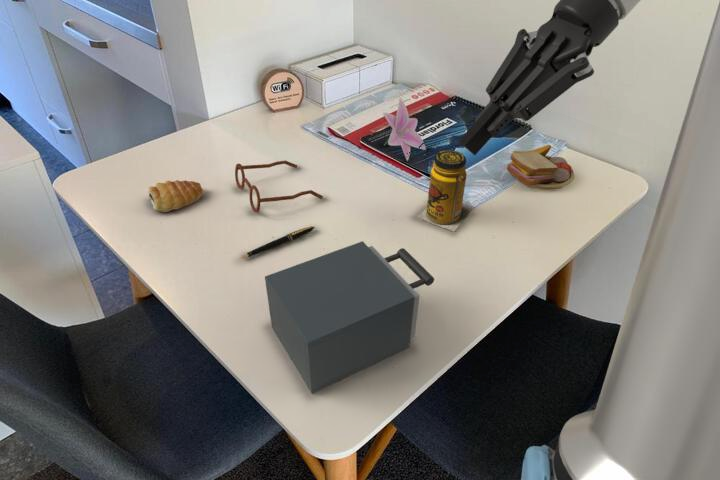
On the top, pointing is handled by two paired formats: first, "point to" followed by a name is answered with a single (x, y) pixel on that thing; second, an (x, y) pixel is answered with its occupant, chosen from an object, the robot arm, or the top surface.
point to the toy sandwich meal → (540, 169)
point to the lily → (403, 130)
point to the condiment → (447, 191)
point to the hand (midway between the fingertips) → (466, 148)
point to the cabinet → (339, 314)
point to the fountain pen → (279, 241)
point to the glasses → (244, 180)
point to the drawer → (416, 268)
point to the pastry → (174, 194)
